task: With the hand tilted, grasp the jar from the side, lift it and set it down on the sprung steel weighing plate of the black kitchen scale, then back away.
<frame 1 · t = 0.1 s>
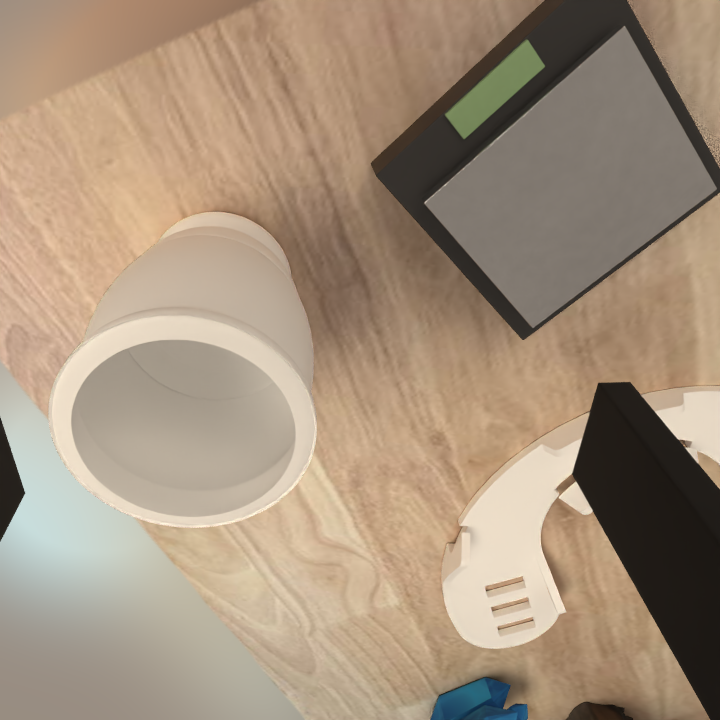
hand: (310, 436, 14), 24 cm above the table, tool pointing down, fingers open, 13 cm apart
cable organizer: (628, 510, 51), on the table
scale platform: (570, 193, 33), point 3 cm above the table, slide at 0.0 cm
scale: (542, 168, 35), on the table
crystal: (462, 689, 63), on the table
jar: (222, 277, 37), on the table
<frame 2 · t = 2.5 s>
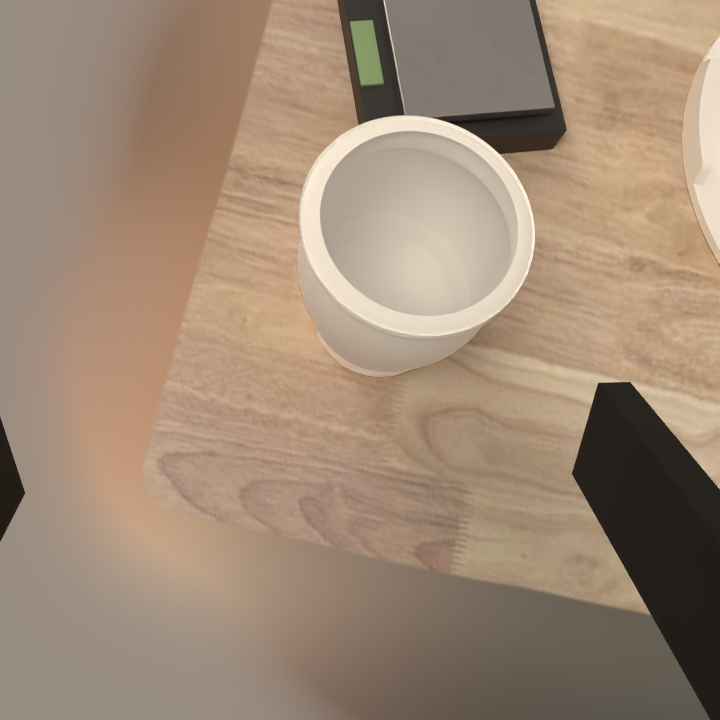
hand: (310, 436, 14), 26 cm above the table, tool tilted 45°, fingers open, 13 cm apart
scale platform: (463, 38, 43), point 3 cm above the table, slide at 0.0 cm
scale: (443, 71, 46), on the table
jar: (375, 317, 42), on the table
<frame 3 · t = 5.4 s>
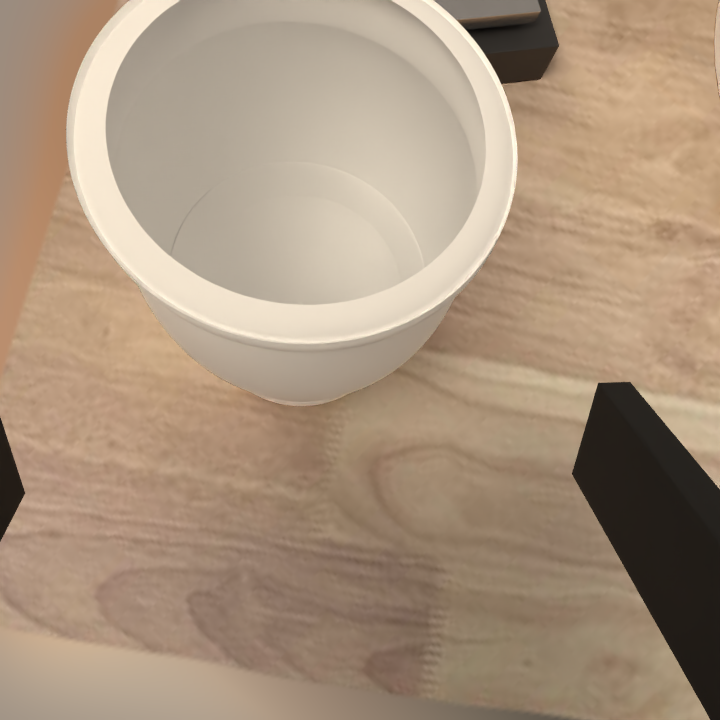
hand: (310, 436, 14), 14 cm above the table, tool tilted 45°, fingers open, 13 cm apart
jar: (299, 319, 29), on the table
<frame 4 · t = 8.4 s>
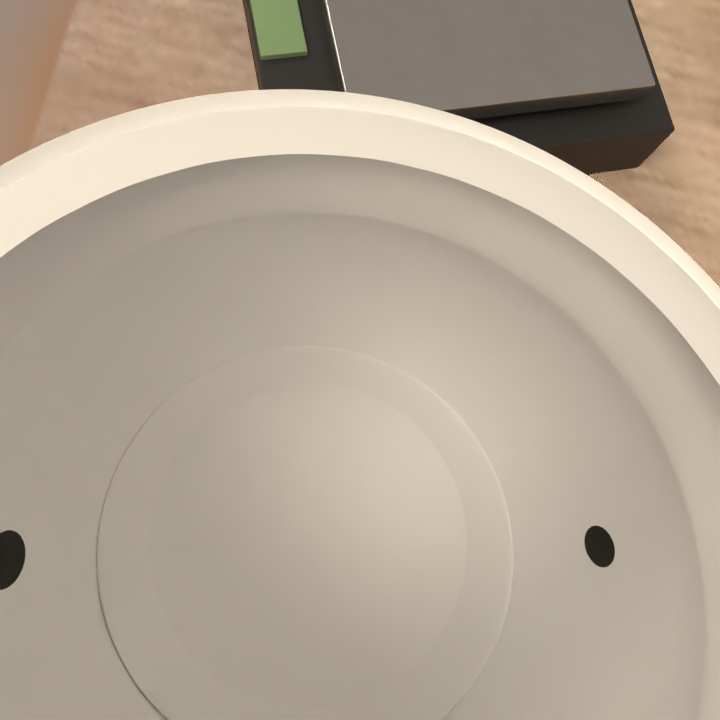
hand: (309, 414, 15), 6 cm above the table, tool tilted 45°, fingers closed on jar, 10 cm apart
scale: (427, 32, 25), on the table
jar: (308, 532, 20), on the table, touching gripper
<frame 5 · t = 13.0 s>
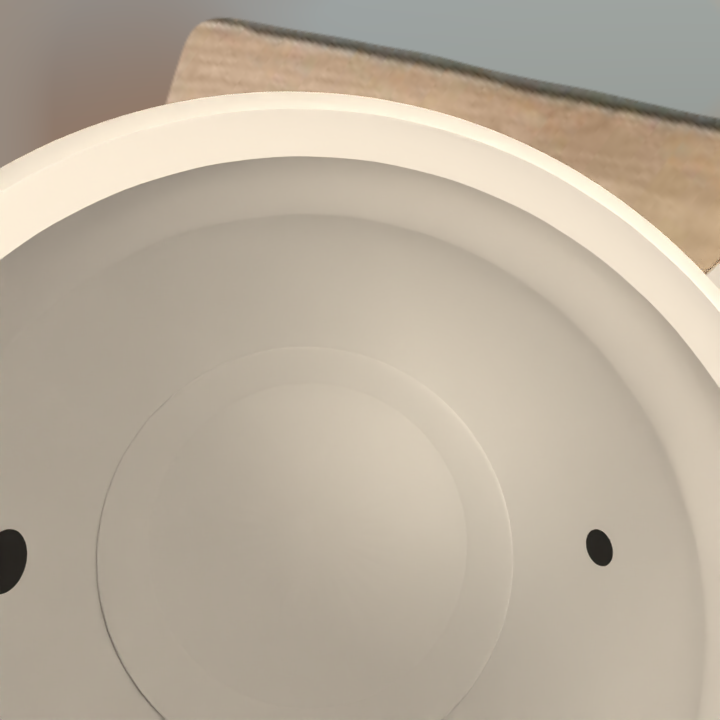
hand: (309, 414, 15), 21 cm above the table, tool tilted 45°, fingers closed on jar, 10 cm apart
jar: (307, 533, 20), point 15 cm above the table, touching gripper
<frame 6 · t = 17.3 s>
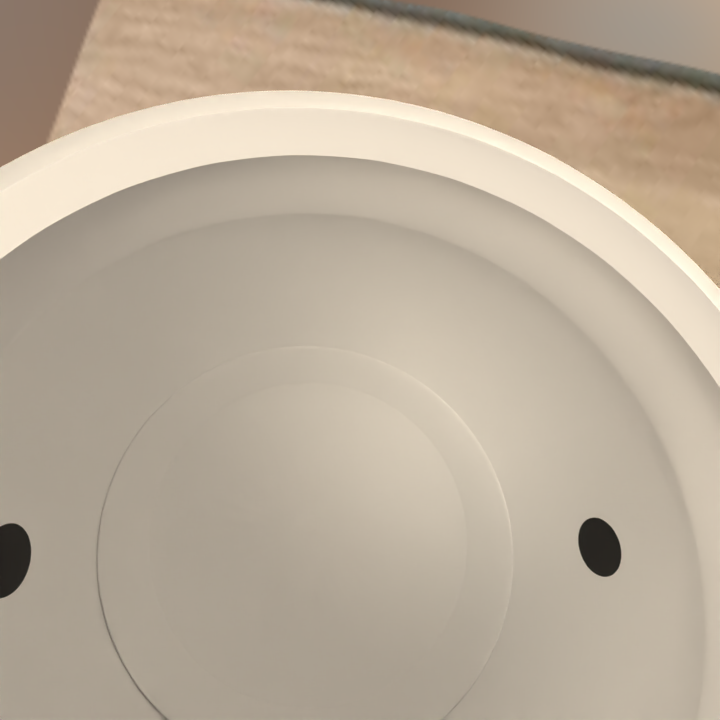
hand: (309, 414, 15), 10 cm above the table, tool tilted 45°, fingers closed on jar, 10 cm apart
jar: (308, 532, 20), point 3 cm above the table, touching gripper, scale platform
when the fingers open (10 cm above the table, at t = 17.6 s): jar stays where it is, resting on scale platform.
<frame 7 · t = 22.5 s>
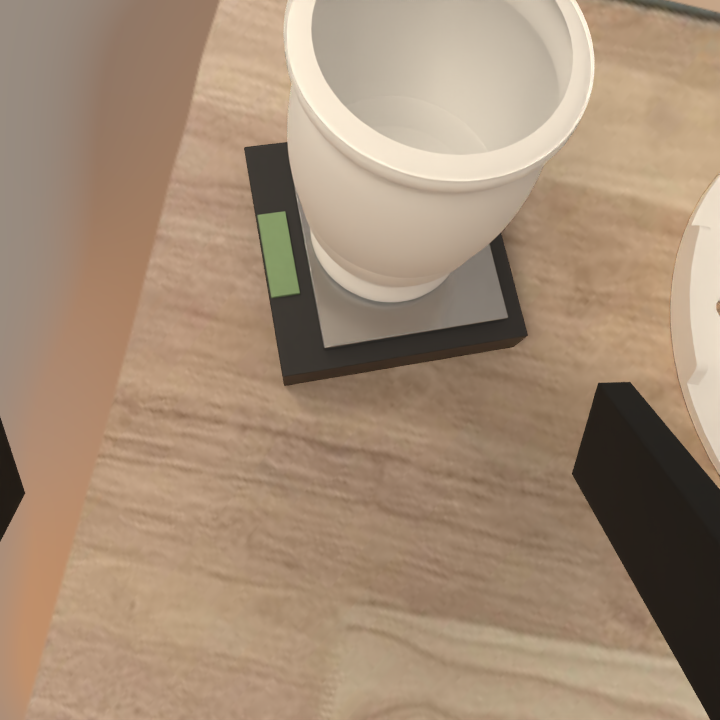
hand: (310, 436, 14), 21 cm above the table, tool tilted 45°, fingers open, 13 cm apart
scale platform: (394, 234, 35), point 3 cm above the table, slide at -0.4 cm, touching jar
scale: (378, 256, 38), on the table
jar: (384, 235, 35), point 3 cm above the table, touching scale platform
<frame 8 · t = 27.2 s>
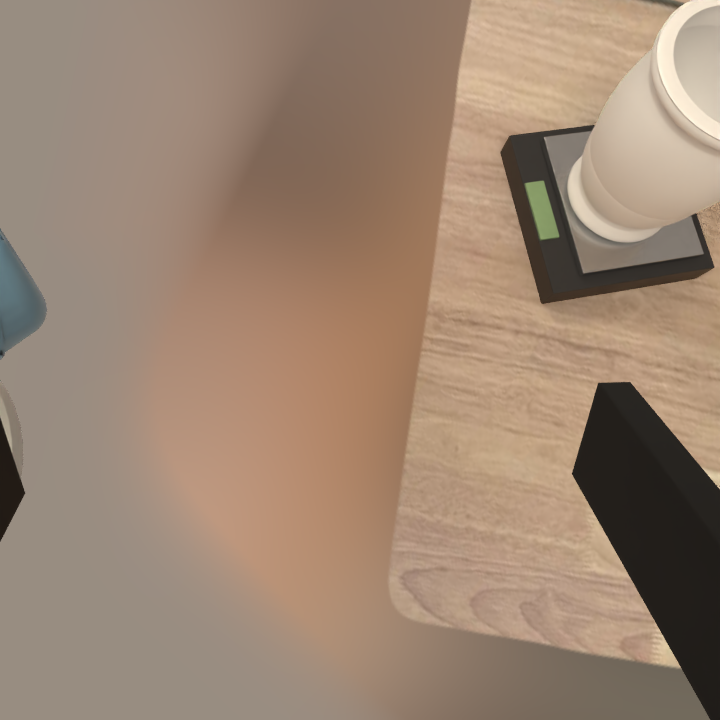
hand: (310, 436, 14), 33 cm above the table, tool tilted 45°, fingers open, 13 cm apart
scale platform: (620, 197, 50), point 3 cm above the table, slide at -0.4 cm, touching jar
scale: (597, 214, 53), on the table
jar: (615, 197, 50), point 3 cm above the table, touching scale platform
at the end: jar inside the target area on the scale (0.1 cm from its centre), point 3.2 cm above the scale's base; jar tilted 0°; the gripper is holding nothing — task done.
